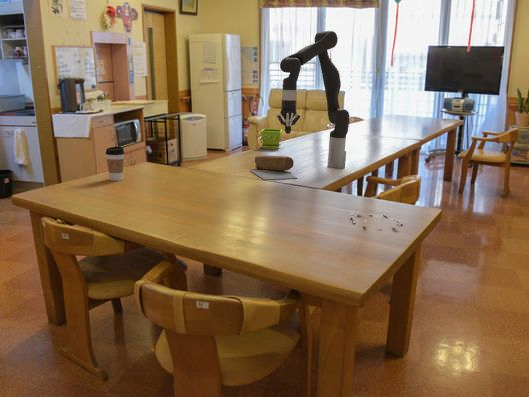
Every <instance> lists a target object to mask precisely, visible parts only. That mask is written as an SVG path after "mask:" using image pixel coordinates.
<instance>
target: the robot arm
mask: <svg viewBox="0 0 529 397" xmlns="http://www.w3.org/2000/svg"><path fill="white" fill-rule="evenodd" d="M338 40H339V38H338V34H337V33H336V32H335V31H334V30H325V31H318V32H316V34H315V35H314V42H313V43H311V44H309V45H306V46H304V47H303V48H301V49H299V50H298V51H296V52H295V53H293V54H290V55H287V56H285V57H283V58H282V59H281V60H280V63H279V67H280V71H282V72H283V73H288V74H289V75H288V76H287V77H284V78H283V79H282V91H281V104H280V105H281V106H280V107H281V108H280V109H281V110H280V113H279V114H277V115H276V116H275V117H276V119H277V120H278V122H279V123H280V124H281V125H282V126H284V132H285V134H287V135H289V134H291V132H292V126H295V124H297V122H298V120H300V118H301V115H300V114H298V113H297V99H298V96H297V95H298V94H297V90H298V89H297V86H298V85H297V84H298V83H297V82H298V79H299V76H300V73H301V69H302V66H304V65H306V64H307V63H308V62H310V61H311V60H313V59H314V58H315V57H318V62H319V65H320V70H321V76H322V81H323V87H324V92H325V99H326V104H327V116H328V121H329V122H330V123H331V125H332V124H333V125H334V128H333V130H331V131H329V137H328V138H329V141H328V152H327V153H328V155H327V156H328V157H327V168H330V169H332V168H333V169H343V168H344V169H345V168H346V160H347V150H346V142H347V140H346V138H347V134H348V133H349V125H350V112H349V111H348V110H347V109H345V108H340V104H339V103H340V102H339V94H340V91H341V86H342V83H341V82H342V81H341V75H340V71H339V69H338V68H337V67H336V65H335V64H334V62H333V61H332V60H331V58H330V56H329V52H328V51H329V50H331V49H333V48H335V47H337V44H338Z"/></svg>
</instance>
